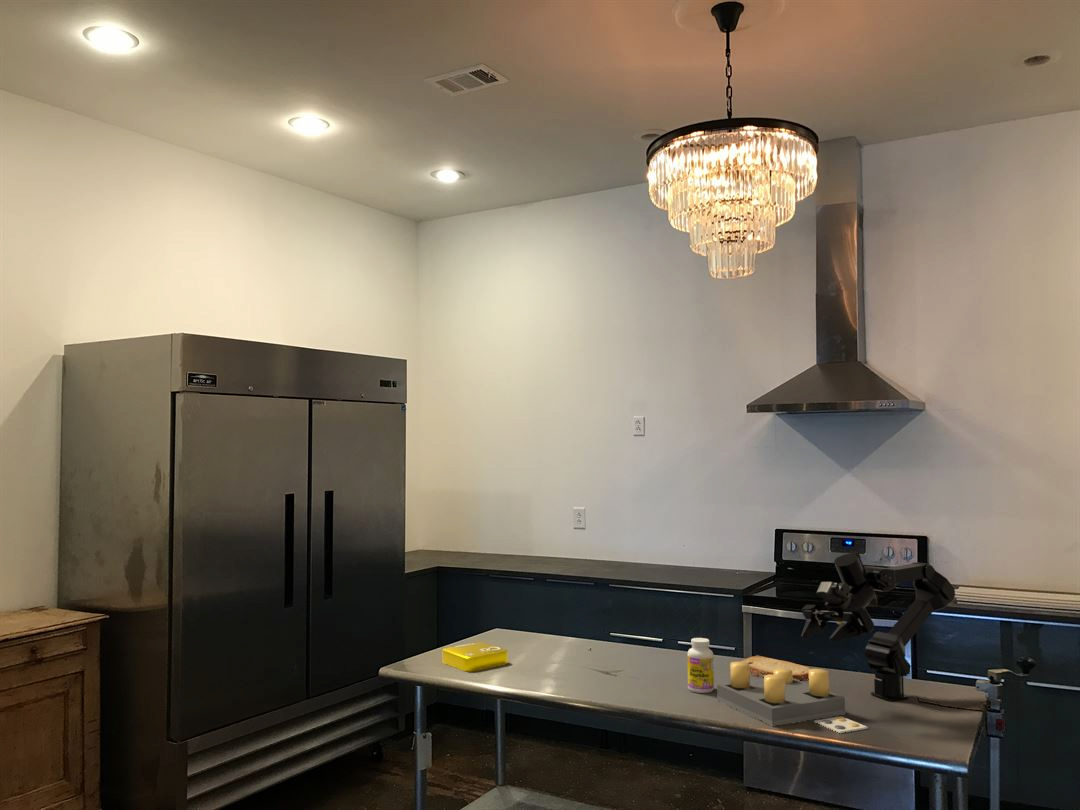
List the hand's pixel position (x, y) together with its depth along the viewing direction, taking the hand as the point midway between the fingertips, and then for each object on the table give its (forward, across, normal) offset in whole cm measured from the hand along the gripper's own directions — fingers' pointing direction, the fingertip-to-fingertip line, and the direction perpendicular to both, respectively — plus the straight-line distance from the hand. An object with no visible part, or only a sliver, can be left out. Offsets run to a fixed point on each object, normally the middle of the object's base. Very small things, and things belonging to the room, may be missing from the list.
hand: (816, 639), depth 194 cm
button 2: (+16, -4, +5) cm, 17 cm away
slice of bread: (-8, -35, +20) cm, 41 cm away
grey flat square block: (+12, -10, +12) cm, 20 cm away
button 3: (+5, -16, +13) cm, 21 cm away
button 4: (+5, -3, +12) cm, 13 cm away
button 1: (+15, -16, +4) cm, 22 cm away
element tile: (+50, -83, -20) cm, 99 cm away
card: (+10, +6, +15) cm, 19 cm away
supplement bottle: (+17, -31, +6) cm, 36 cm away
